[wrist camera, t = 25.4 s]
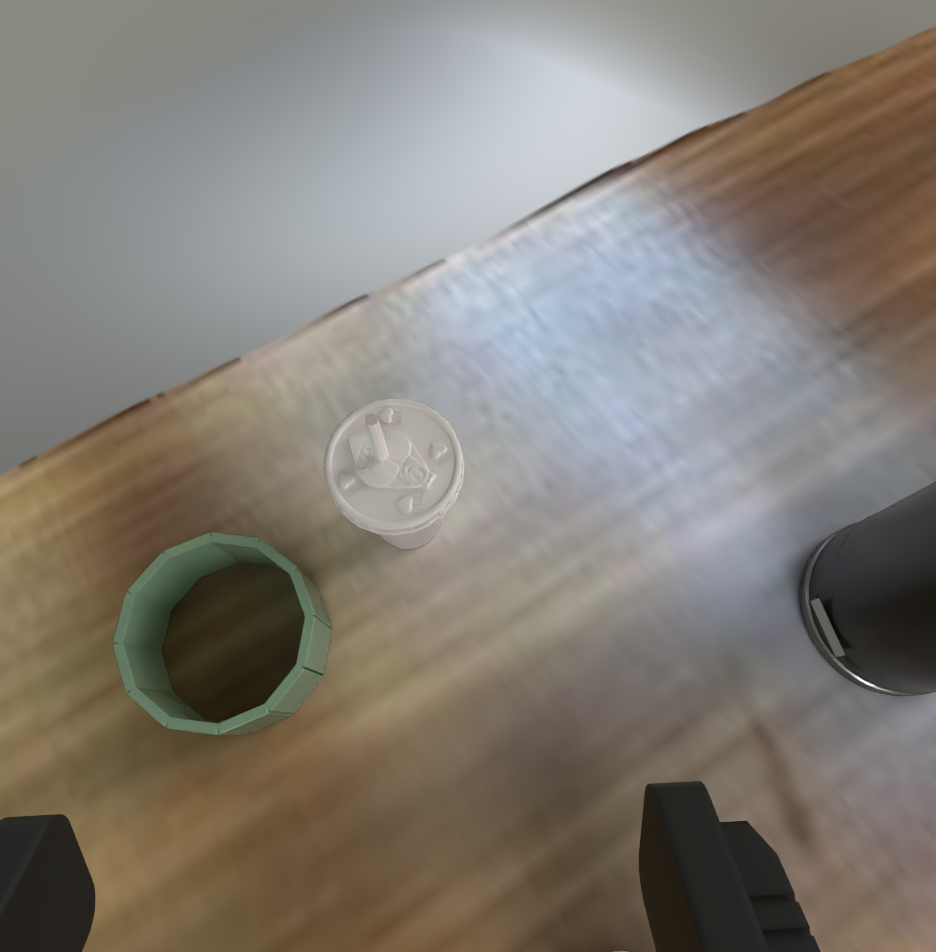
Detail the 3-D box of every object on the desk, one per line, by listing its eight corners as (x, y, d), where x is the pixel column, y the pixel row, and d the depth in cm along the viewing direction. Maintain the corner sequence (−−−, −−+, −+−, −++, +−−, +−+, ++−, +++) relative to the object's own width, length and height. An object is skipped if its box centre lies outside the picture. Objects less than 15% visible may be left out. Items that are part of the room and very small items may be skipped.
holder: (296, 530, 44) (276, 505, 39) (354, 688, 41) (339, 682, 36) (135, 594, 43) (93, 577, 38) (183, 761, 40) (145, 766, 35)
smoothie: (388, 446, 45) (355, 328, 32) (484, 495, 44) (492, 395, 31) (331, 539, 44) (271, 456, 30) (430, 593, 43) (413, 531, 29)
